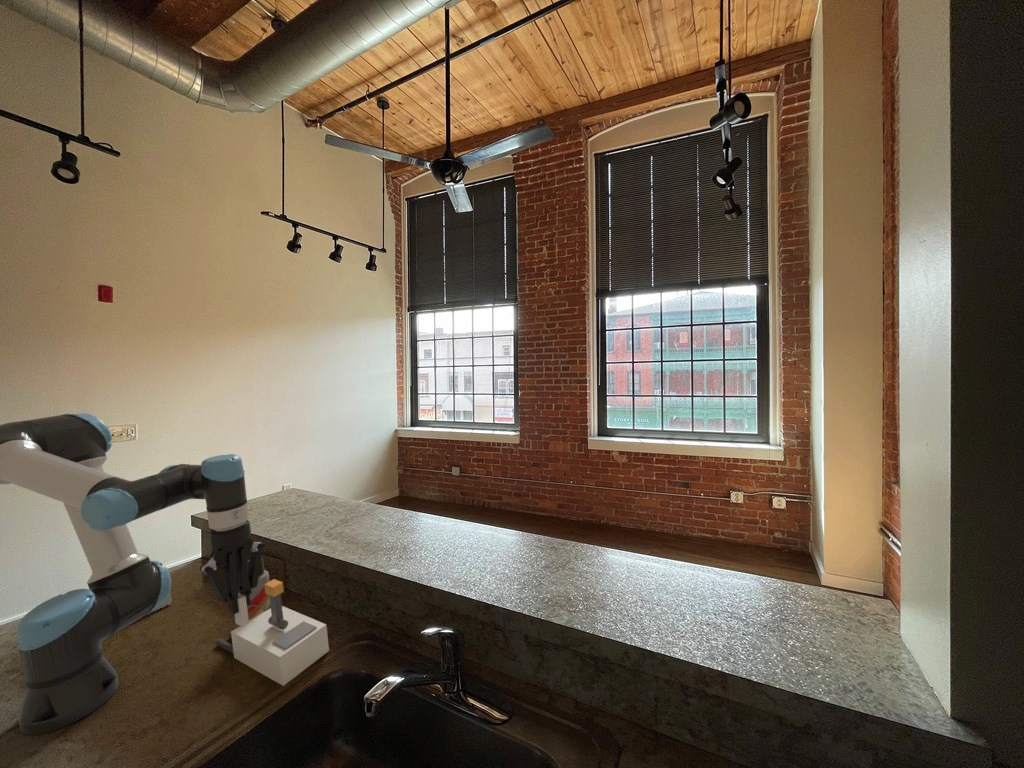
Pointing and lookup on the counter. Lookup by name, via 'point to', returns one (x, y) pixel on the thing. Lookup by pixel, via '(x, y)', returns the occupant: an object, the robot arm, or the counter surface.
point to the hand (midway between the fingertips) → (242, 622)
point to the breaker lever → (276, 603)
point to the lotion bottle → (259, 594)
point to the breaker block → (280, 645)
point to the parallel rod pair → (225, 644)
